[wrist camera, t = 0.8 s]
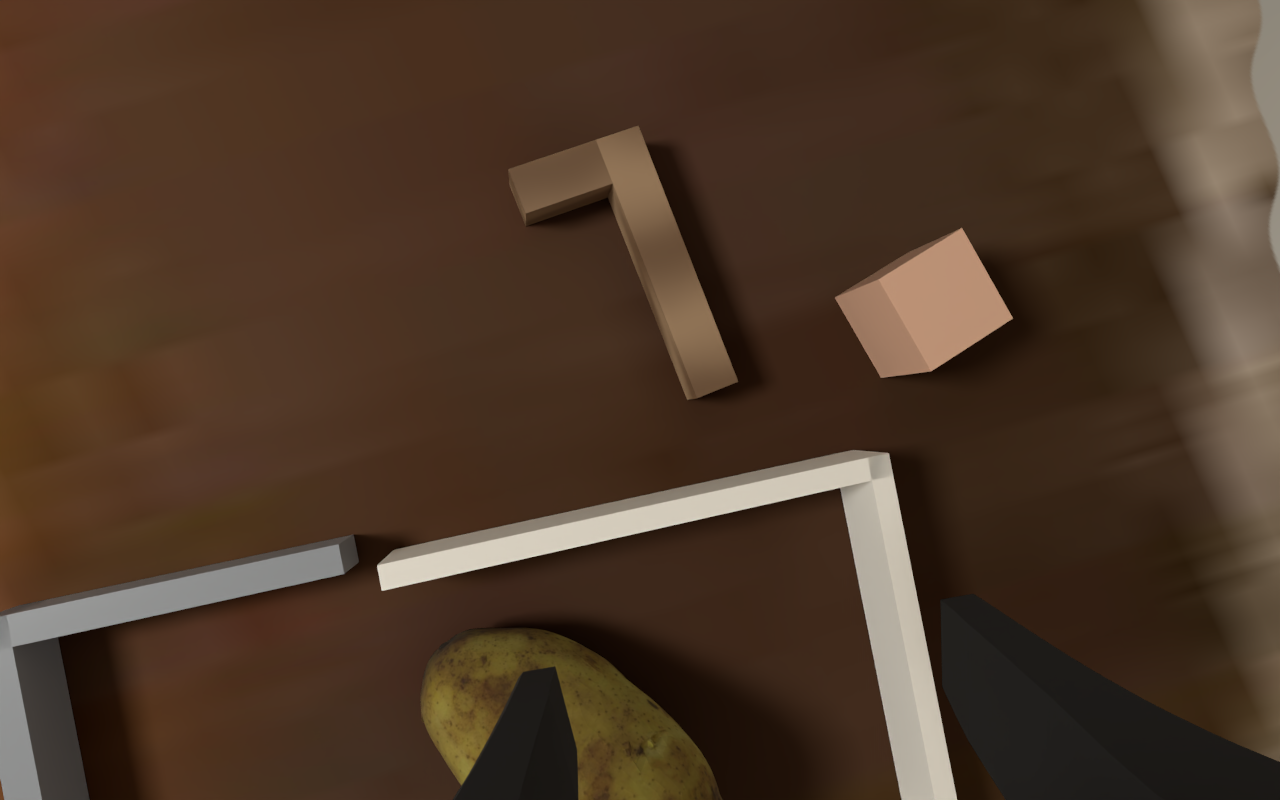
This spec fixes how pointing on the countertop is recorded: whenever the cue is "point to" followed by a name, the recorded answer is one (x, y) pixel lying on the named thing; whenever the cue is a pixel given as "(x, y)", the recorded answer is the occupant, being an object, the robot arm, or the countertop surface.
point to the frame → (28, 634)
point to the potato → (596, 705)
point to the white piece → (851, 471)
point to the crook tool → (635, 242)
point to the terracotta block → (924, 307)
